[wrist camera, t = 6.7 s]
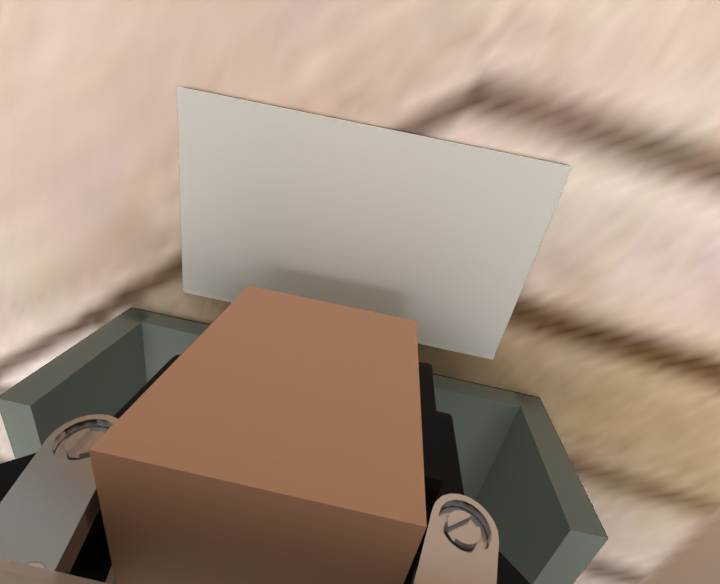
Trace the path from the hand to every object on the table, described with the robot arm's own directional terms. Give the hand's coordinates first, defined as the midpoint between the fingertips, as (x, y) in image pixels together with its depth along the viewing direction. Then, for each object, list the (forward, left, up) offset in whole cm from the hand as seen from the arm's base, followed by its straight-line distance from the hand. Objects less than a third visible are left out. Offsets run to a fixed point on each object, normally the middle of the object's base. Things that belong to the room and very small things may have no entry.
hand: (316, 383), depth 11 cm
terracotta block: (0, 0, -1) cm, 1 cm away
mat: (0, -4, -4) cm, 5 cm away
